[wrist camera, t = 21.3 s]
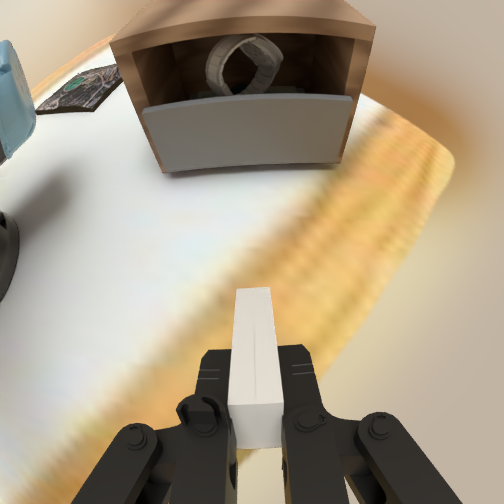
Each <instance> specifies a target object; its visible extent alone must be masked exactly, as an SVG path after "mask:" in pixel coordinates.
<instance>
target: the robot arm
mask: <svg viewBox="0 0 504 504" xmlns="http://www.w3.org/2000/svg"><path fill="white" fill-rule="evenodd" d="M35 126H36V113H35V108H34V104H33V101H32V97H31V94H30V91H29V88H28V84H27V81H26V78H25V75H24V72H23V69H22V67H21V64H20V61H19V59H18V56H17V54H16V52H15V50H14V49H13V46H12V43H11V42H10V41H8V40H4V41H2V42H0V166H1V165H2V164H3V163H4V162H5V161H6V160H7V159H10V158H11V157H12V155H13V153H14V152H15V151H16V150H17V149H18V148H19V147H20V146H21V145H22V144H23V143H24V142H25V141H26V140H27V139H28V138H29V137H30V136H31V135H32V133H33V131H34V129H35ZM18 249H19V233H18V228H17V225H16V223H15V222H14V220H12V219H11V218H10V217H9V216H8V215H7V214H5V213H4V212H2V211H0V301H1V299H2V298H3V296H4V294H5V292H6V290H7V288H8V286H9V284H10V281H11V278H12V275H13V272H14V269H15V265H16V261H17V256H18ZM176 412H177V414H178V416H179V419H180V421H181V424H179V425H177V426H174V427H171V428H165V429H160V430H153V429H152V428H151V427H149V426H148V425H146V424H141V423H134V424H129V425H127V426H125V427H123V428H122V429H121V430H120V431H119V432H118V434H117V435H116V436H115V438H114V439H113V441H112V442H111V444H110V445H109V447H108V448H107V450H106V451H105V453H104V454H103V456H102V457H101V459H100V460H99V462H98V463H97V465H96V466H95V468H94V469H93V471H92V472H91V474H90V475H89V477H88V478H87V480H86V481H85V483H84V484H83V486H82V487H81V489H80V491H79V492H78V494H77V495H76V497H75V498H74V500H73V501H72V503H71V504H168V503H169V504H237V476H238V462H237V458H236V449H260V448H276V447H282V454H283V457H282V470H283V477H284V490H285V503H286V504H349V499H348V494H347V489H346V485H345V480H344V477H345V479H346V480H347V482H348V484H349V486H350V488H351V489H352V491H353V493H354V495H355V496H356V498H357V500H358V502H359V503H360V504H462V502H461V501H460V500H459V498H458V497H457V496H456V494H455V493H454V492H453V490H452V489H451V488H450V486H449V485H448V484H447V482H446V481H445V480H444V479H443V477H442V476H441V475H440V474H439V472H438V471H437V470H436V468H435V467H434V465H433V464H432V463H431V462H430V460H429V459H428V458H427V457H426V455H425V454H424V452H423V451H422V450H421V449H420V447H419V446H418V445H417V443H416V442H415V441H414V439H413V438H412V437H411V436H410V434H409V433H408V432H407V431H406V429H405V428H404V427H403V425H402V424H401V423H400V421H399V420H398V419H397V418H395V417H394V416H393V415H391V414H388V413H386V412H375V413H372V414H369V415H367V416H366V417H364V418H363V419H362V420H361V421H357V420H346V419H340V418H337V417H334V416H332V415H331V414H330V413H328V412H327V411H326V409H325V408H324V406H323V404H322V400H321V396H320V392H319V388H318V384H317V380H316V376H315V373H314V368H313V365H312V360H311V356H310V352H309V351H308V350H307V349H306V348H305V347H304V346H303V345H302V344H299V345H287V346H277V341H276V333H275V325H274V317H273V309H272V302H271V294H270V287H260V288H242V289H237V291H236V303H235V315H234V327H233V339H232V349H223V350H208V351H207V352H206V354H205V355H204V356H203V358H202V359H201V364H200V371H199V374H198V380H197V384H196V390H195V394H193V395H191V396H188V397H186V398H184V399H183V400H182V401H181V402H180V403H179V404H178V406H177V408H176Z"/></svg>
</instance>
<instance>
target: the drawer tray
mask: <svg viewBox="0 0 504 504" xmlns="http://www.w3.org/2000/svg"><path fill="white" fill-rule="evenodd" d="M230 89H231V88H230ZM217 96H218V95H216V94H215V93H214V92H213V91H212V90H210V91H201V92H198V94H192V95H190V99H189V100H188V101H181V102H175V103H169V104H163V105H158V106H153V107H148V108H144V109H143V112H142V116H143V118H144V121H145V123H146V125H147V128H148V130H149V133H150V135H151V138H152V140H153V142H154V145H155V147H156V149H157V152H158V154H159V156H160V159H161V161H162V163H163V166H164V168H165V170H166V173H167V172H176V171H184V170H194V169H204V168H215V167H227V166H241V165H259V164H283V163H336V162H337V158H338V155H339V151H340V148H341V144H342V141H343V137H344V134H345V130H346V126H347V123H348V119H349V115H350V111H351V108H352V104H353V100H352V98H351V96H343V95H328V94H305V92H304V89H303V88H295V86H270V87H269V88H268V89H267V90H266V92H265V94H249V95H234V96H222V97H217Z"/></svg>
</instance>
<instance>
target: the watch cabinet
mask: <svg viewBox="0 0 504 504" xmlns="http://www.w3.org/2000/svg"><path fill="white" fill-rule="evenodd" d="M375 30H376V26H375V25H374V24H373V23H372V22H370V21H369V20H368V19H367V18H366V17H365V16H363V15H362V14H361V13H360V12H358V11H357V10H356V9H355V8H353V7H352V6H351V5H350V4H348V3H347V2H346V1H344V0H152V1H151V2H149V3H148V4H147V5H146V6H145V7H144V8H143V9H142V10H141V11H140V12H139V13H137V14H136V15H135V16H134V17H133V18H132V19H131V20H130V21H129V22H128V23H127V24H126V25H125V26H124V27H123V28H122V29H121V30H120V31H119V32H118V33H117V34H116V36H115V37H114V38H113V39H112V40H111V41H110V42H109V44H110V47H111V50H112V52H113V55H114V58H115V60H116V63H117V66H118V68H119V71H120V73H121V76H122V79H123V81H124V84H125V86H126V89H127V91H128V94H129V96H130V99H131V101H132V103H133V106H134V108H135V111H136V113H137V115H138V118H139V120H140V123H141V125H142V127H143V130H144V132H145V134H146V137H147V139H148V141H149V143H150V146H151V148H152V150H153V153H154V155H155V157H156V159H157V162H158V164H159V166H160V168H161V170H162V173H166V170H165V168H164V166H163V163H162V161H161V159H160V156H159V154H158V152H157V149H156V147H155V145H154V142H153V140H152V138H151V135H150V133H149V130H148V128H147V125H146V123H145V121H144V118H143V116H142V112H143V109H144V108H148V107H153V106H158V105H163V104H169V103H175V102H181V101H188V100H189V99H190V95H192V94H198V92H201V91H210V90H212V89H211V88H210V87H209V85H208V84H207V82H206V79H207V78H206V72H205V69H206V63H207V60H208V57H209V54H210V52H211V51H212V49H213V47H214V46H215V45H216V44H217V43H218V42H219V41H220V40H221V39H222V38H224V37H225V36H227V35H230V34H244V33H257V34H260V35H262V36H264V37H265V38H267V39H268V40H270V41H271V42H272V43H274V44H275V45H276V46H277V47H278V48H279V50H280V51H281V53H282V55H283V60H282V61H281V62H280V67H279V71H278V72H277V73H276V74H275V77H274V79H273V81H272V83H271V84H270V86H295V88H303V89H304V92H305V94H328V95H343V96H351V98H352V100H353V104H352V108H351V111H350V115H349V119H348V123H347V126H346V130H345V134H344V137H343V141H342V144H341V148H340V151H339V155H338V158H337V162H336V163H340V162H341V158H342V155H343V152H344V149H345V145H346V142H347V139H348V135H349V132H350V128H351V125H352V121H353V118H354V114H355V111H356V107H357V103H358V100H359V96H360V92H361V88H362V84H363V81H364V77H365V73H366V68H367V65H368V60H369V56H370V52H371V47H372V43H373V39H374V34H375ZM216 56H218V55H216ZM219 57H221V56H219ZM223 65H224V67H223V71H222V77H223V80H224V83H225V84H227V86H228V88H229V89H230V88H233V87H235V86H237V85H239V84H241V83H244V84H246V85H249V84H251V82H252V80H253V78H256V77H255V75H256V72H257V71H259V70H258V66H257V65H255V64H254V62H253V60H251V59H250V58H249V57H247V56H246V55H245V54H244V53H243V52H242V51H241V49H240V48H239V47H237V48H236V49H234V51H233V52H232V54H231V55H230V56H228V59H227V61H226V62H225V64H223ZM261 75H262V74H261ZM263 76H264V75H263ZM272 77H273V76H272ZM268 78H269V77H268ZM257 82H258V81H257ZM259 83H260V82H259ZM268 84H269V83H268ZM264 85H265V84H264Z"/></svg>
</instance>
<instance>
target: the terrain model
mask: <svg viewBox="0 0 504 504" xmlns="http://www.w3.org/2000/svg"><path fill="white" fill-rule="evenodd" d="M122 82H123V79H122V76H121V73H120V71H119V68H118V66H117V64H113V65H110V66H105V67H99V68H95V69H91V70H88V71H85V72H82V73H81V74H79V73H78V75H76V76H75V77H73V78H72V79H71V80H70V81H68V82H67V83H66V84H64V86H62V87H61V88H60V89H59V90H58V91H56V92H55V93H54V94H53V95H52V96H51V97H50V98H48V99H46V101H44V102H43V103H42V104H41V105H40V106H39V107H38V108H37V109H36V110H35V113H36V114H37V115H43V114H56V113H68V112H94V111H95V110H96V109H97V108H98V107H99V105H100V104H101V103H102V102H103V101H104V100H105V99H106V98H107V97H108V96H109V95H110V94H111V93H112V92H113V91H114V90H115V89H116V88H117V87H118V86H119V85H120V84H121V83H122Z"/></svg>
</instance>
